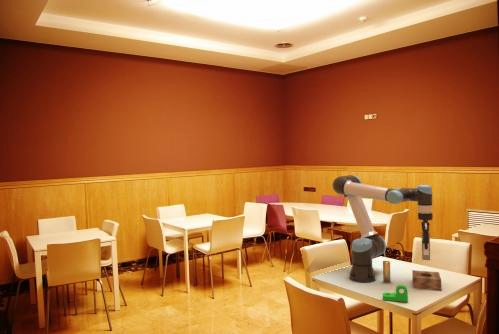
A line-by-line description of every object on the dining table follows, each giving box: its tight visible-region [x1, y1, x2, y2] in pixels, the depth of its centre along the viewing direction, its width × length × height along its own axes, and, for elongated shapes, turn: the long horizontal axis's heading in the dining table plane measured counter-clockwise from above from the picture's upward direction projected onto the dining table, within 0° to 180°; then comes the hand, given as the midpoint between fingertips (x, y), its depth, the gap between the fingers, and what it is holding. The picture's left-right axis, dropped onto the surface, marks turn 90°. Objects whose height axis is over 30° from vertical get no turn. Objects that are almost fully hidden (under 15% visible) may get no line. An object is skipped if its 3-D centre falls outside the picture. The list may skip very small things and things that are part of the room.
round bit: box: [382, 260, 392, 284], centre depth 224 cm, size 4×4×12 cm
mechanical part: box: [382, 284, 409, 303], centre depth 198 cm, size 12×6×8 cm, turn 73°
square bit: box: [421, 231, 431, 261], centre depth 215 cm, size 4×4×15 cm
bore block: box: [411, 269, 442, 292], centre depth 216 cm, size 14×14×6 cm
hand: (425, 253), depth 215 cm, fingers closed on square bit, 4 cm apart
